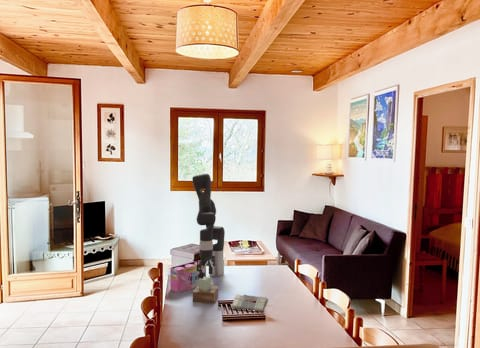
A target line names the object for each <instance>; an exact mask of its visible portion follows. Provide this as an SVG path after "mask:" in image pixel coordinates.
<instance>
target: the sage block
mask: <svg viewBox="0 0 480 348" xmlns="http://www.w3.org/2000/svg"><path fill="white" fill-rule="evenodd" d="M211 286H212V278H211V277H209V276H208V277H207V276H206V277H204V278H203V279H201V278H200V279H199V290H203V291H207V290H209V289H211Z"/></svg>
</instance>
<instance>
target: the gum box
mask: <svg viewBox="0 0 480 348" xmlns="http://www.w3.org/2000/svg"><path fill="white" fill-rule="evenodd" d="M197 261H198V260H194V261H192V262H191V261H190V262H187V263H183V264H180V265H176V266H171V267H170V280H169V281H170V289H169V290H170V291H173V292H176V293H182V292H185V291H187V290H191V289H193V288H194V289H195V288H196V287H197V286H198V285H199V279H200V277H199V272H198V271H197ZM202 266H203V265H202ZM201 270H202V269H201ZM203 272H204V277H207V267H206V268H205V269H204V271H203Z"/></svg>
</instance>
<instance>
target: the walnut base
mask: <svg viewBox="0 0 480 348" xmlns="http://www.w3.org/2000/svg"><path fill="white" fill-rule="evenodd" d="M218 297H219V286H218V285H211V289H209V290H207V291H203V290H199V285H198V286H197V287H194V290H193V291H192V303H198V304H199V303H201V304H212V305H213V304H215V302H216V300H217V298H218Z"/></svg>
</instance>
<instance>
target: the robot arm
mask: <svg viewBox="0 0 480 348" xmlns="http://www.w3.org/2000/svg"><path fill="white" fill-rule="evenodd" d="M192 184H193V188H194V191H195V193H196V196H197V197H198V213H197V215H196V223H197V224H198V225H199V226H205V228H203V229H201V230H199V250H198V251H199V257H200V259H199V260H196V261H197V271H198V272H199V277H200V278H201V279H203V278H204V272H203V271H204V269H205V268H206V269H207V267H208V274H209V276H211V277H214V278H215V277H217V278H218V277H223V276H224V274H225V260H224V248H225V247H224V246H225V234H226V233H225V232H226V231H225V228H224V227H223V226H216V225H215V224H216V223H215V222H216V217H217V216H216V214H217V208H216V204H215V201H214V200H213V199H211V198H212V197H211V195H212V180H211V176H210V174H209V173H202V174H195V175H193V177H192ZM203 190H204V191H203ZM213 241H217V242H216V243H213ZM202 265H203V266H202ZM201 269H202V270H201Z"/></svg>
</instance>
